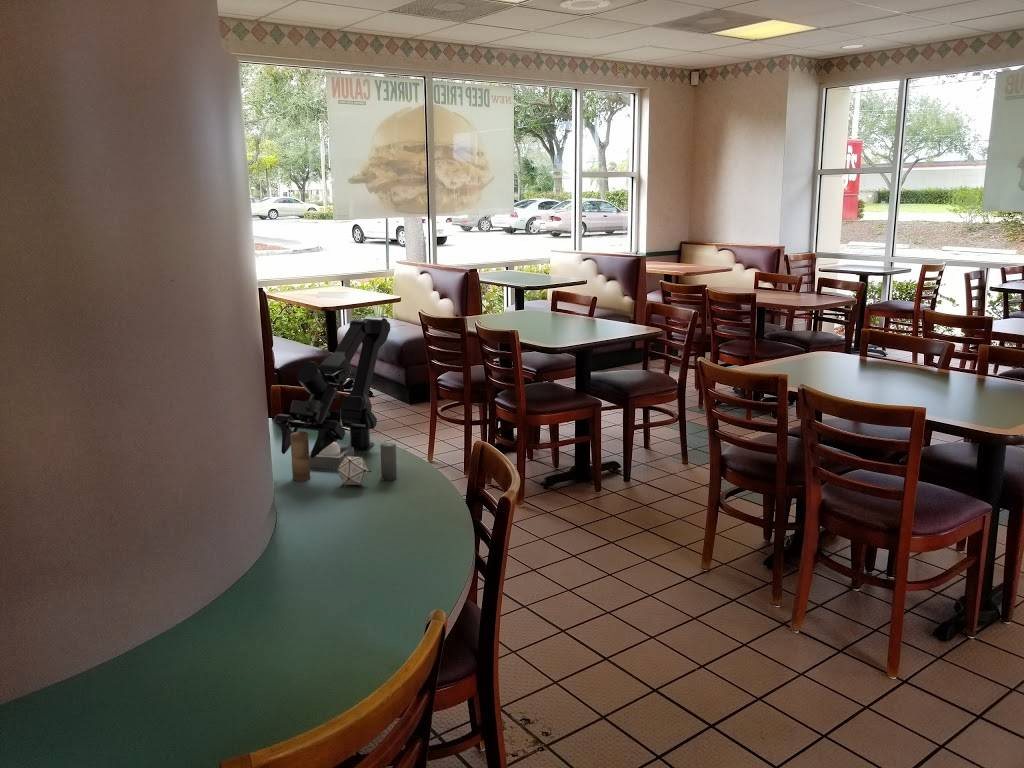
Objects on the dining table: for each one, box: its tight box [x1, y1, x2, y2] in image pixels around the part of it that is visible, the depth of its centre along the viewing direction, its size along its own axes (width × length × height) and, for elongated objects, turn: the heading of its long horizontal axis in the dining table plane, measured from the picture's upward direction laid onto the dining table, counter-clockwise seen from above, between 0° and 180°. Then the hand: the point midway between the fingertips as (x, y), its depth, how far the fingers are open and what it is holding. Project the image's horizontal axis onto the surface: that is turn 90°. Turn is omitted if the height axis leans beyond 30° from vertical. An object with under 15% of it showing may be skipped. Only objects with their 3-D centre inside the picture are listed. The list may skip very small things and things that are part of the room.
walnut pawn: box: [290, 431, 311, 482], centre depth 213 cm, size 4×4×12 cm
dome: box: [319, 441, 340, 456], centre depth 227 cm, size 6×6×6 cm
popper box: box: [309, 445, 355, 470], centre depth 227 cm, size 10×10×3 cm
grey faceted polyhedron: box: [333, 453, 373, 488], centre depth 209 cm, size 9×8×10 cm
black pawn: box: [380, 442, 398, 481], centre depth 215 cm, size 4×4×9 cm
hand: (297, 455), depth 212 cm, fingers open, 8 cm apart
